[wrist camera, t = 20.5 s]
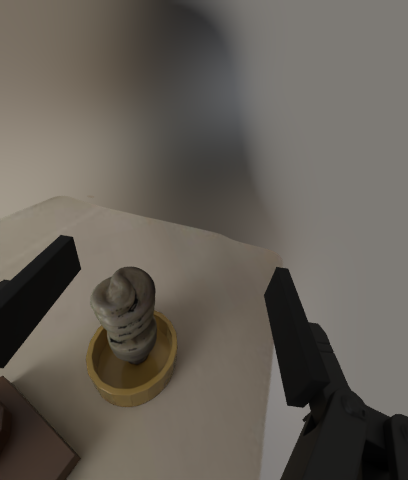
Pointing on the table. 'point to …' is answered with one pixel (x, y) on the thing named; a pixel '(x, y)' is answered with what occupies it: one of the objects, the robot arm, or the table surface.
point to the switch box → (30, 441)
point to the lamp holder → (132, 367)
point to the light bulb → (127, 313)
